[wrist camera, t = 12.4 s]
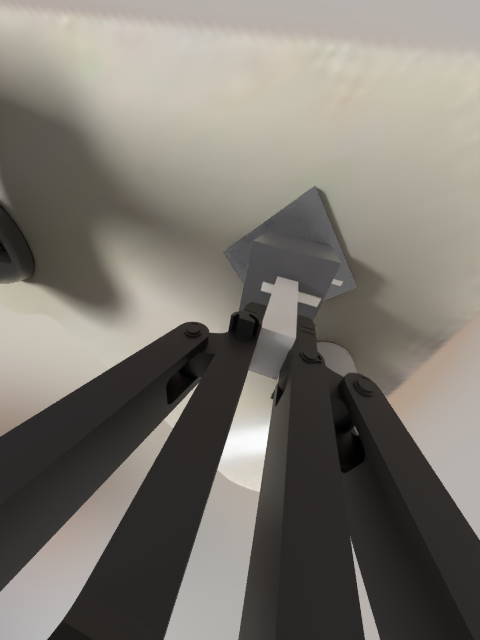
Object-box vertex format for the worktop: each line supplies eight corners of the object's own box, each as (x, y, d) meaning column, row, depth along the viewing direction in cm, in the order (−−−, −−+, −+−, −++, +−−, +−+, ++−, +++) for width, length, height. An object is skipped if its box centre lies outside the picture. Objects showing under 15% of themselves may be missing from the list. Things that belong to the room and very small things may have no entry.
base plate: (226, 250, 21) (210, 260, 17) (314, 186, 16) (318, 181, 12) (270, 319, 24) (264, 340, 20) (355, 284, 19) (368, 303, 15)
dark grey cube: (254, 287, 21) (238, 313, 16) (267, 230, 18) (252, 241, 13) (306, 302, 20) (306, 334, 15) (330, 245, 17) (341, 264, 12)
